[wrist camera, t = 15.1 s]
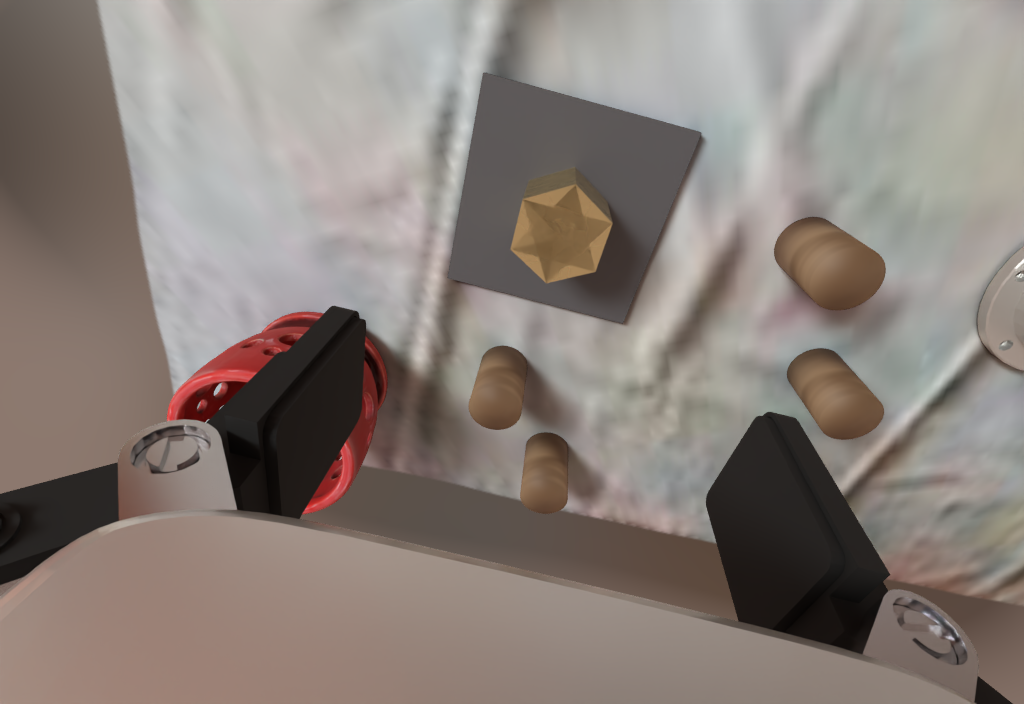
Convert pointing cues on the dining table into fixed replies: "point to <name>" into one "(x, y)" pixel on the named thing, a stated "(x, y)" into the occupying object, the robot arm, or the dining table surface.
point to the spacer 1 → (499, 388)
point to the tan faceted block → (561, 226)
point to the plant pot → (252, 357)
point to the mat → (553, 148)
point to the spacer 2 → (545, 473)
